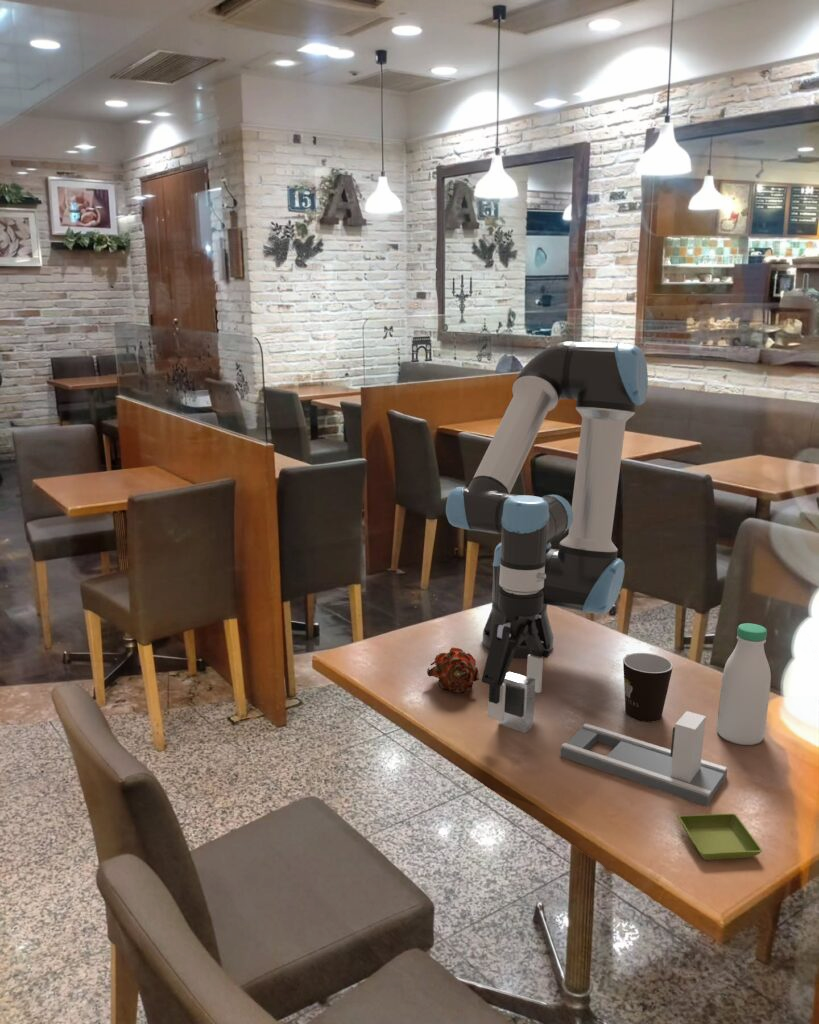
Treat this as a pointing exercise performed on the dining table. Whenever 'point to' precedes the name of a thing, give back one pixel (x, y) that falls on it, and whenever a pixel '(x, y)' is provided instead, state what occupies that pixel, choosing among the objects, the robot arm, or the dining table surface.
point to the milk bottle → (745, 688)
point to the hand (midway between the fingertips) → (515, 704)
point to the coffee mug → (646, 685)
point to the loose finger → (518, 702)
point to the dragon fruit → (455, 670)
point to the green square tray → (720, 836)
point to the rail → (654, 759)
